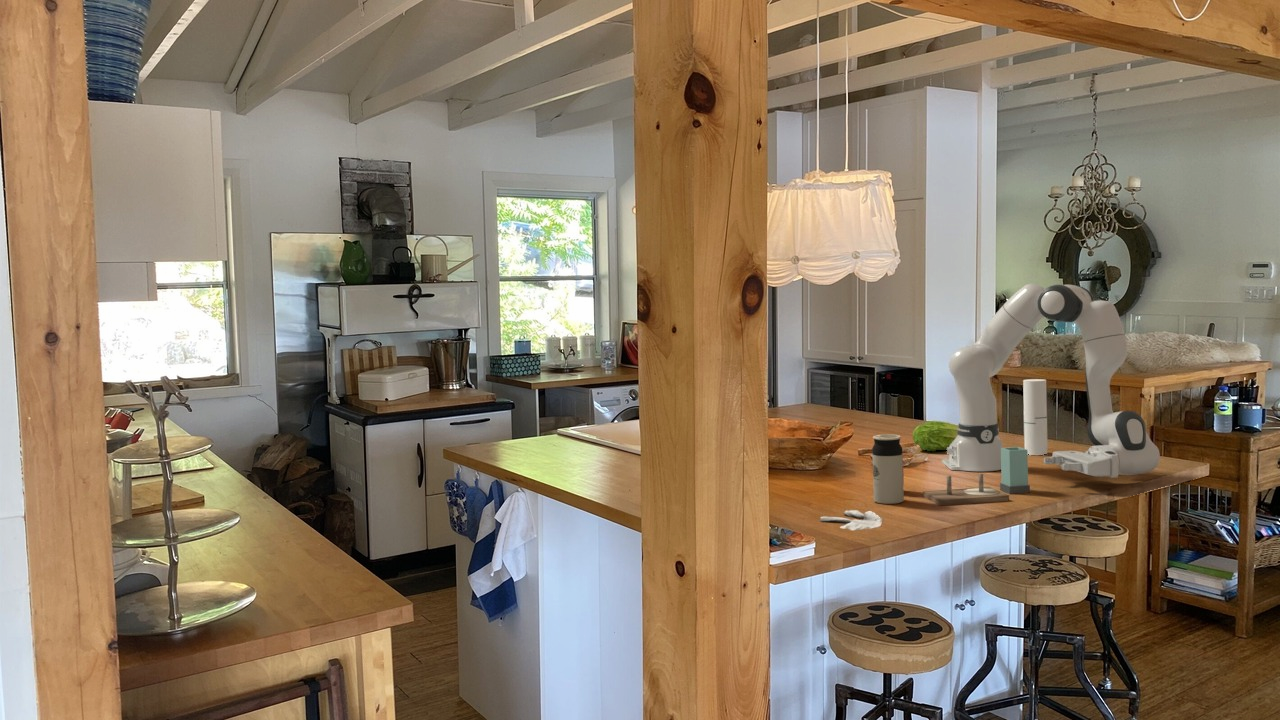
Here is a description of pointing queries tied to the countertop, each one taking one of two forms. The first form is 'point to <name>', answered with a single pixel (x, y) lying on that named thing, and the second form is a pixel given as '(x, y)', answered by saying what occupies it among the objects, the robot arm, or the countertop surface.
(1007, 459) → the teal sleeve
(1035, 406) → the cylindrical container
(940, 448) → the lettuce
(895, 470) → the travel mug
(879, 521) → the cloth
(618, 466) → the countertop surface
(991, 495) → the pin board
